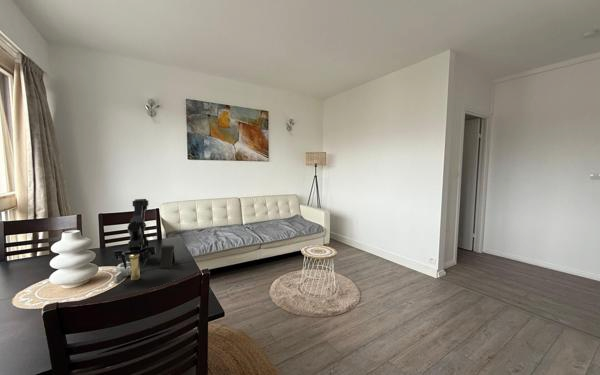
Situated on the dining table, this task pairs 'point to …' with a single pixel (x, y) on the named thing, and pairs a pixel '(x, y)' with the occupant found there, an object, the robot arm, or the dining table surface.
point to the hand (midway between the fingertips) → (134, 267)
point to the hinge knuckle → (122, 271)
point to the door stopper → (167, 257)
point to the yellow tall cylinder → (134, 266)
